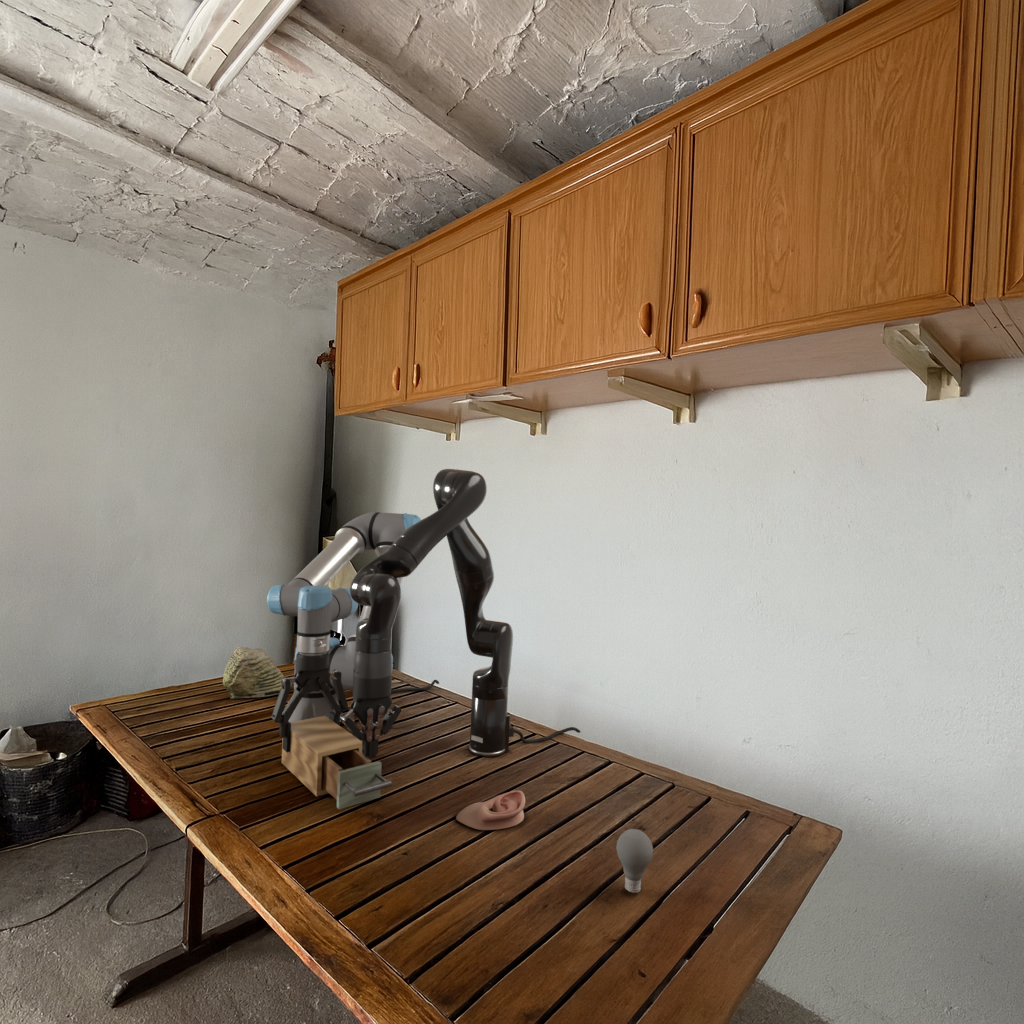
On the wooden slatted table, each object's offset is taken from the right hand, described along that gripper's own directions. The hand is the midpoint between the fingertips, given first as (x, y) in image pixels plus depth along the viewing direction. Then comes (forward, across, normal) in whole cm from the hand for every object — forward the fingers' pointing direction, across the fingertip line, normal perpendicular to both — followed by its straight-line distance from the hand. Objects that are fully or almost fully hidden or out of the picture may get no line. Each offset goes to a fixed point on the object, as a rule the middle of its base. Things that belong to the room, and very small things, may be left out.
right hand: (369, 757), depth 127 cm
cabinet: (+12, 0, +23) cm, 26 cm away
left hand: (+8, 0, +30) cm, 31 cm away
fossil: (+12, +5, +88) cm, 89 cm away
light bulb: (+12, +24, -48) cm, 55 cm away
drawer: (+11, 0, +10) cm, 15 cm away
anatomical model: (+12, +20, -15) cm, 27 cm away
